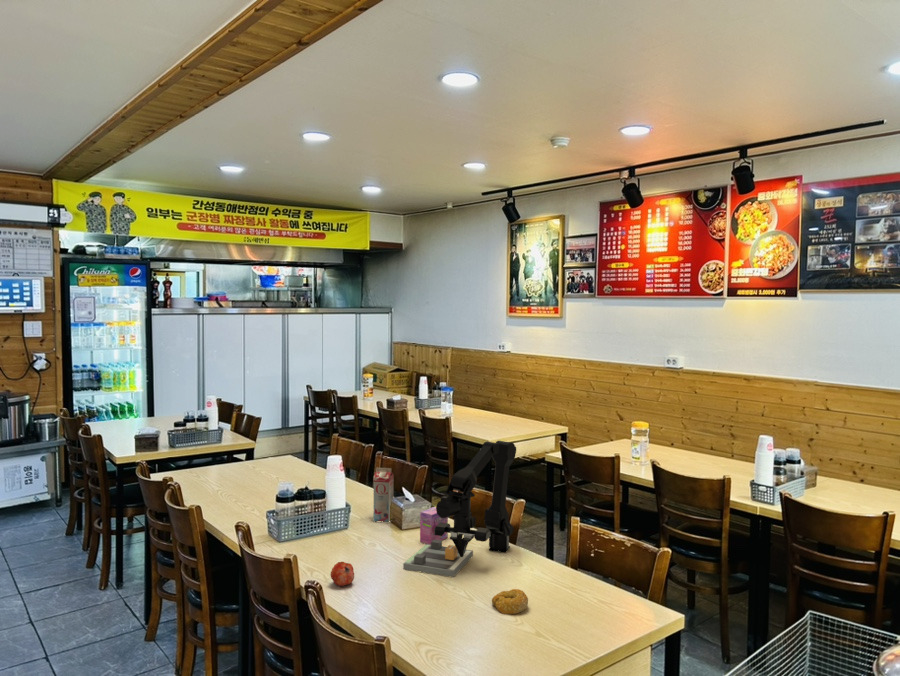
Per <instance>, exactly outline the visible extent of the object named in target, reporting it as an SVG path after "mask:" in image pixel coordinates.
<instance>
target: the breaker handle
mask: <svg viewBox="0 0 900 676" xmlns="http://www.w3.org/2000/svg"><path fill="white" fill-rule="evenodd" d="M446 547H447V548H445V559H449V560H454V559H455V558H456V557H457V548H456V546H455V544H454V545H453V544H452V545H451V544H449V545H448V546H446Z"/></svg>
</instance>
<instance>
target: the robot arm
mask: <svg viewBox="0 0 900 676" xmlns="http://www.w3.org/2000/svg"><path fill="white" fill-rule="evenodd" d="M516 453H517V447H516V445H515V444H514V442H509V441H505V440H504V441H503V440H497V441H495V442H493V441H484V443H482V447H481V448H480V449H479V451H478V452H477V453H476V454H475V456H473V458H472V459H471V460H470V462H469V463H468V464H467V465H466V466H465V467H463V468H460V469H459V470H458V471H457V472H456V473H454V474H453V476H452V477H451V479H450V482H449V484H448V486H447V488H446V490H445V492H444V495H445V496H441V497H440V500H439V501H438V502H437V503H436V505H435V506H436V511H437V514H438V515H439V516H440V517H441V518H447V517H448V518H450V517H452V520H453V527H452V526H451V524H450V523H439V524H438V525H437V526H436V527H435V528H434V535H438V536H442V535H443V534H445V532H446V533H448V534H450V536H449V540H451V541H452V543H453V544H454V546H456V548H457V550H458V552H459V555H460V557H463V556H464V553H465V550H467V548H468V544H469V543H470V542H471V541H472V540H473V539H475V541H477V542H487V540H488V547H489V548H488V551H490V552H497V553H504V554H505V553H507V552H508V551H509V549H510V548H511V545H510V536H512V534H513V533H514V526H513V525H512V524H511V523H510V521H509V512H508V510H507V507H506V500H507V494H508V493H507V491H508V483H509V474H510V473H509V472H510V467H511V465H512V464H513V462H514V461H515V458H516V455H517V454H516ZM492 459H493V461H494V463H495V470H494V480H493V487H492V489H493V490H492V495H491V496H492V498H491V504H490V506H489V507H488V508H486V509H484V519H483V520H484V525H485V527H480V526H479V527H478V528H477V529H473V528H475V527H476V520H477V517H476V516H472V515H473V514H472V511H471V504H472V503H471V498H473V497H475V496H476V495H475V493H474V492H473V490H474V488H475V487H476V485H477V483H478V481H477V479H478V476H479V475H480V474H481V472H482V471H483V470H484V468H485V467H486V466H487V464H488V463H489V462H490V460H492Z"/></svg>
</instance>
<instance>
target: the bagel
mask: <svg viewBox="0 0 900 676" xmlns="http://www.w3.org/2000/svg"><path fill="white" fill-rule="evenodd" d="M491 604H492V605H493V606H494V607H495V609H496V610H497V611H498V612H499V613H501V614H503V615H515V614H519V613H522V612H524V611H525V610H526V608H527V607H528V605H529V598H528V596H527V594H526V593H525V591H524V590H521V589H519V588H517V589H516V588H513V589H510V590H504V591H500V592H499V593H496V595H494V596H493V597H492V599H491Z"/></svg>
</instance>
